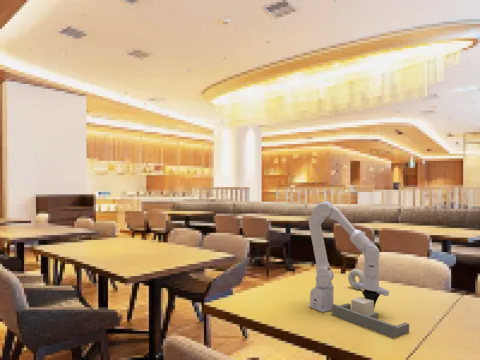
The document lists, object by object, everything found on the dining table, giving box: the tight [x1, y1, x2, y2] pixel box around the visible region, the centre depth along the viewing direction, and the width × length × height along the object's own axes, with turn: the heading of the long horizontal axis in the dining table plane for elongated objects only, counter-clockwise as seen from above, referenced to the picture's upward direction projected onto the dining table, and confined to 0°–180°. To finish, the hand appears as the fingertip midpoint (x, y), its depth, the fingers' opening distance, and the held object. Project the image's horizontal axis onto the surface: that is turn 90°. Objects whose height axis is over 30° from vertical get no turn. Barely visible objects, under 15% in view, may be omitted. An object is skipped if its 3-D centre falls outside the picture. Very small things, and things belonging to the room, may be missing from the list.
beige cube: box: [350, 296, 375, 315], centre depth 148 cm, size 6×6×6 cm
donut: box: [347, 268, 364, 291], centre depth 185 cm, size 10×4×10 cm, turn 36°
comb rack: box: [331, 302, 410, 339], centre depth 140 cm, size 10×26×4 cm, turn 35°
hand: (371, 309), depth 151 cm, fingers closed
